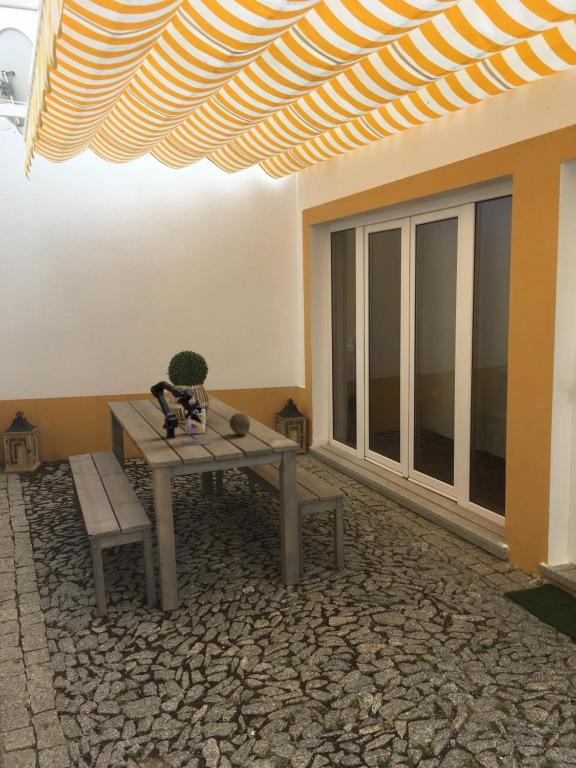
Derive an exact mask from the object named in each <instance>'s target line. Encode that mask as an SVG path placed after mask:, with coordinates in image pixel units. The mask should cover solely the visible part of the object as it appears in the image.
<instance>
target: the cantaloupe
mask: <svg viewBox="0 0 576 768" xmlns="http://www.w3.org/2000/svg"><path fill="white" fill-rule="evenodd" d="M228 423H229V427H230V429H231V431H233V433H235V434H237V435H239V436H245V435H246V434H248V432H250V428H251V421H250V420H249V417H248V416H247V415H246V414H245V413H244V414H243V413H235V414H233V415H232V416H231V417H230V419H229V422H228Z"/></svg>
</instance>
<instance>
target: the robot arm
mask: <svg viewBox="0 0 576 768" xmlns="http://www.w3.org/2000/svg"><path fill="white" fill-rule="evenodd" d="M149 389H150V390H149V391H150V393H151V395H152V396H153V397H155V398H156V399H157V402H158V405H159V406H160V408H161V410H162V413H163V415H164V423H163V425H162V428H163V429H162V430H165V431H166V435H165V438H166V439H175V438H176V429H177V428H178V427H179V426H178V425H179V420H178V417H177V414H176V413H172V410H171V408H170V406H169V404H168V402H167V400H166V398H165V395H164V394H165V391H167V392H169V393H170V394H171V395H172V396H173V397H174V399H177V400H176V404H177V405H181V406H182V407H183V410H184V411H187V413H186V415H185V414H184V418H185V420H186V419H188V418H189V416H190V418H189V419H192V420H195V421H197V422H200V423H201V422H202V421H201V420H200V419H199V417H198V416H197V414H202V413H201V412H202V409H204V407H203V401H202V400H200V399H197V400H196V402H191V400H192V398H193V397H195V391H194V390H192V389H190V387H187V388H185V389H184V388H181V387H177V386H174V385H172V384H170V383H169V382H167V381H166V380H162V381H159V382H157V383H155V384H154V385H152V386H151V387H150V388H149Z"/></svg>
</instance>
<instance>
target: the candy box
mask: <svg viewBox="0 0 576 768" xmlns="http://www.w3.org/2000/svg"><path fill="white" fill-rule="evenodd" d="M184 411H185V412H184V413H185V414H184V416H185V415H186V413H187V411H186V410H184ZM201 413H202V414H205V429H206V431H205V432H207V433H208V431H207V430H208V429H207V428H208V425H207V410H206V409H205V408H203V409H202V412H201ZM189 418H190V416H189ZM189 418H188V419H186V418H185V433H186V434H187V435H189V434H190V435H196V434H195V433H197V424H196V421H195V420H192V419H189ZM205 432H204V433H203V434H206V433H205Z"/></svg>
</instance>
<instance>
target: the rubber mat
mask: <svg viewBox="0 0 576 768" xmlns="http://www.w3.org/2000/svg"><path fill="white" fill-rule="evenodd" d="M201 440H202V442H201ZM181 444H182V447H186V446H187V445H190V446H202V445H201V444H205V445H211V441H210V439H209V438H201V439H199V438H198V439H187V440H186V439H184V440H183V439H182V440H181ZM187 447H188V446H187Z"/></svg>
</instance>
